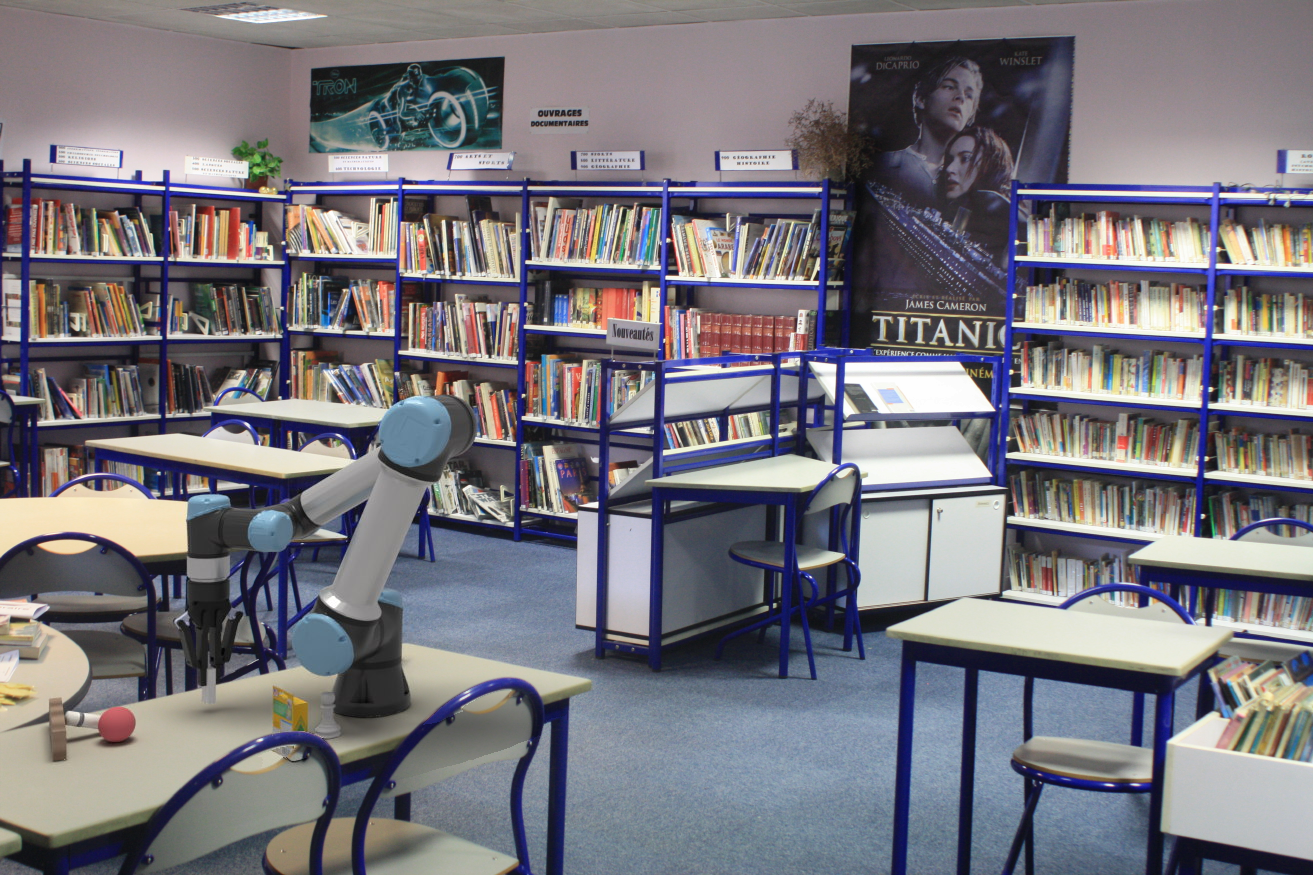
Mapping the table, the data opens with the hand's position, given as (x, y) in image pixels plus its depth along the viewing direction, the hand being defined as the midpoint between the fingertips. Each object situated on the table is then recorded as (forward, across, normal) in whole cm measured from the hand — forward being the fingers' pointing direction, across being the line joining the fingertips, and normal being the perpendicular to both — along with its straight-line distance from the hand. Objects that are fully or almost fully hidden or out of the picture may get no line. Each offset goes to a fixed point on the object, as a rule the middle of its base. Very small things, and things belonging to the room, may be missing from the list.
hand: (208, 701), depth 230 cm
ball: (-1, +19, +6) cm, 20 cm away
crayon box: (+2, 0, +31) cm, 31 cm away
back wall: (+2, +27, 0) cm, 27 cm away
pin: (+1, +17, 0) cm, 17 cm away
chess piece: (+2, -10, +26) cm, 28 cm away
